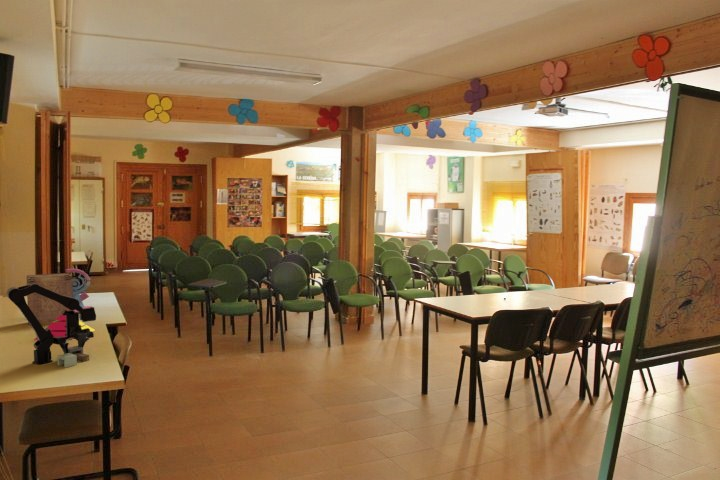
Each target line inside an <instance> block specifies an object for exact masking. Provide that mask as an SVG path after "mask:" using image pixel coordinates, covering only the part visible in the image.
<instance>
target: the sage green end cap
mask: <svg viewBox="0 0 720 480" xmlns="http://www.w3.org/2000/svg"><path fill="white" fill-rule="evenodd" d="M56 360H57V366H62V365H63V367H64V368H68V367H69V368H70V367H72V366H77V365H78V360H77V355H74V354H70V353H67V354H64V353H63V354H60V355H57V359H56Z"/></svg>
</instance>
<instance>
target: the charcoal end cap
mask: <svg viewBox="0 0 720 480" xmlns="http://www.w3.org/2000/svg"><path fill="white" fill-rule="evenodd" d="M75 352H79V353H83V354H84V347H81V346H78V345H72V346H68V353H70V354H72V353H75ZM63 354H65V353H64V352H63Z"/></svg>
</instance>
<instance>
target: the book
mask: <svg viewBox="0 0 720 480" xmlns="http://www.w3.org/2000/svg"><path fill="white" fill-rule="evenodd" d="M72 280H73V274H72V272H69V273H67V272H63V273H62V272H61V273H45V274H44V273H43V274H28V275H26V285H29V284H32V283H36V284H38V285H39V286H41V287H44V288H46V289H48V290H51V291H53V292H56V293H58V294H60V295H65V296H69V297H73V293H72V287H73V282H72ZM26 298H27V301H26V303H27V305H28V306H29V308H30V309H31V311H32V312H33V314H34V315H35V317H36V318H37V319H38V321H39V322H40V324H41V325H43V324H44V323H46V324H51V323H53V322H54V321H56V319H57V318H58V317H59V316H60V315H61V313H62V312H63V311H64V310H66V311H73V310H70V309H68V308H66V307H65V306H63V305H62V304H60V303H59V302H57V301H54V300H52V299H49V298H47V297H45V296H42V295H40V294H38V293H35V292H34V293H32V294H29V295H27V296H26ZM27 323H28V326H31V325H30V323H29V322H28V321H27ZM44 325H45V324H44Z"/></svg>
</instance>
